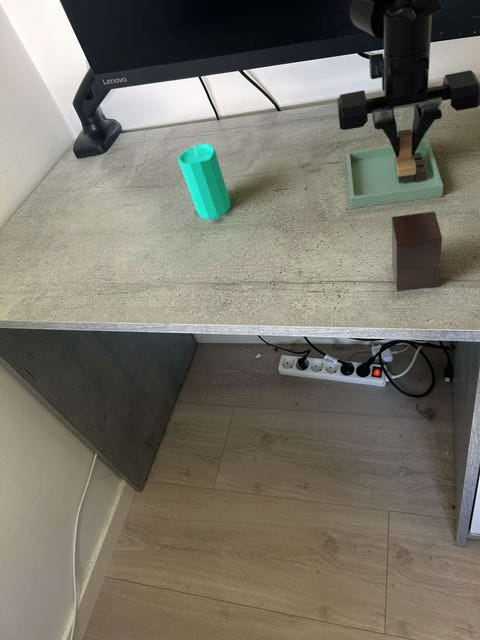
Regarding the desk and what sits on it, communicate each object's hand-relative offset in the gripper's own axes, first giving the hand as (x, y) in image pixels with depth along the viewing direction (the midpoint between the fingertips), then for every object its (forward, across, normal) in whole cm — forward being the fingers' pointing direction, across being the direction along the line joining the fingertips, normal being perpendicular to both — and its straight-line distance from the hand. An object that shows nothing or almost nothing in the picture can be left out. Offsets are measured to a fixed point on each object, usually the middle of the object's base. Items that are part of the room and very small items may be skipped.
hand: (404, 154), depth 75 cm
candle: (+4, +32, +1) cm, 32 cm away
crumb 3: (+3, -2, +2) cm, 4 cm away
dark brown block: (+4, +2, +22) cm, 23 cm away
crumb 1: (+3, -2, -2) cm, 4 cm away
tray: (+4, +2, 0) cm, 4 cm away
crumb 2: (+3, -2, 0) cm, 4 cm away
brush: (+3, 0, 0) cm, 3 cm away
